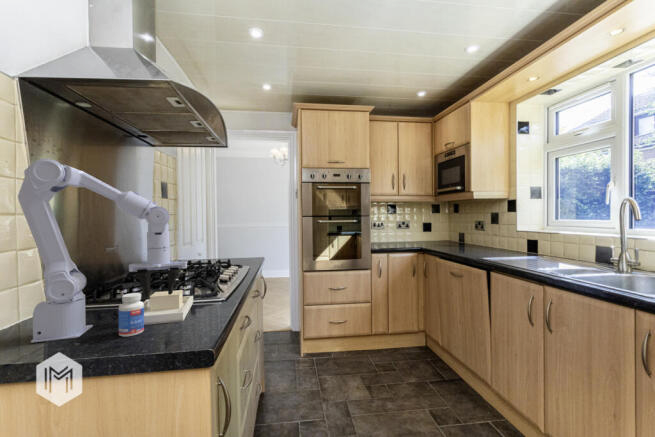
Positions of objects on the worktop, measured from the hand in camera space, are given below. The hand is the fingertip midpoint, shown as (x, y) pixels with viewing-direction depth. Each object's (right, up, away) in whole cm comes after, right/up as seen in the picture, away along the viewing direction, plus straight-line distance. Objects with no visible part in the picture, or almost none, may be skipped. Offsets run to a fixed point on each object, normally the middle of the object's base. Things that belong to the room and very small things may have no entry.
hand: (159, 294), depth 84 cm
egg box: (-3, -6, +9) cm, 11 cm away
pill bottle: (-1, -7, -10) cm, 13 cm away
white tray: (-1, -7, +4) cm, 8 cm away
